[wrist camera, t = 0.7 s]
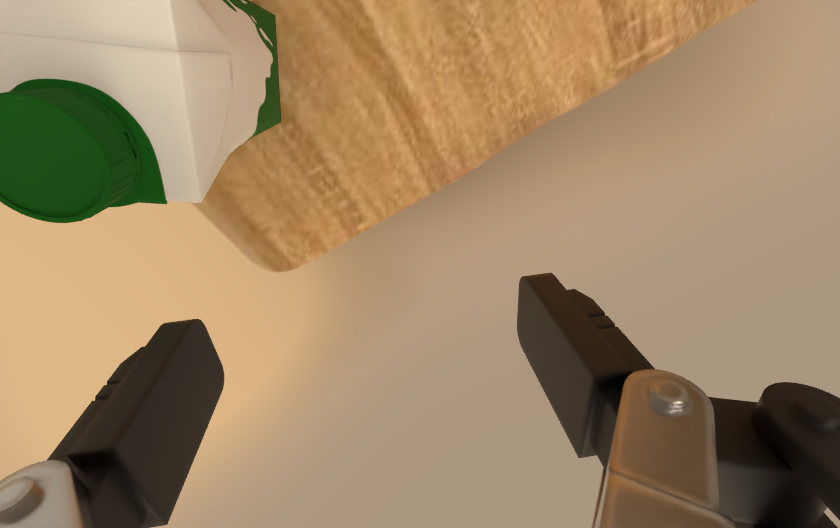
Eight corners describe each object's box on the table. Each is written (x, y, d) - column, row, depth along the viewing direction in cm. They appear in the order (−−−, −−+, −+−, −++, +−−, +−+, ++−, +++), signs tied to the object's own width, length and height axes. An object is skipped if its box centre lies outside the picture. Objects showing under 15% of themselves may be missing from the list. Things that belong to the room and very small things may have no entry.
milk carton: (174, 125, 30) (-95, 227, 13) (149, -20, 26) (-307, -168, 8) (294, 135, 31) (202, 240, 14) (288, -1, 27) (146, -97, 10)
